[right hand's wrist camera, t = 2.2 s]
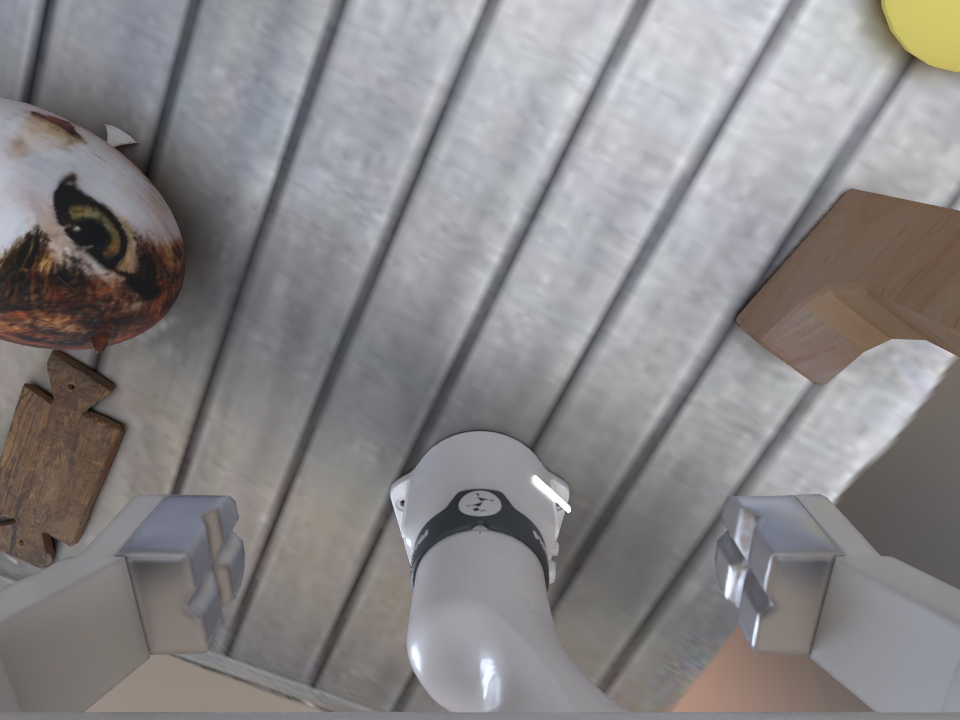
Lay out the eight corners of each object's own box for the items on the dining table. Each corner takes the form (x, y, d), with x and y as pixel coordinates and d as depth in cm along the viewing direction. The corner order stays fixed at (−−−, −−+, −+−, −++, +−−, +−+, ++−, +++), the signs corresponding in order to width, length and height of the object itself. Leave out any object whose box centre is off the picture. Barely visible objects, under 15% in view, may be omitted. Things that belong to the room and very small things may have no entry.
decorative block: (730, 319, 59) (952, 504, 31) (848, 184, 55) (1231, 259, 27) (787, 361, 61) (1048, 572, 33) (906, 233, 56) (1326, 352, 28)
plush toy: (258, 138, 48) (95, 341, 38) (236, 254, 63) (114, 423, 53) (-41, -40, 44) (-319, 139, 33) (11, 131, 58) (-170, 291, 48)
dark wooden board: (145, 388, 62) (45, 341, 60) (136, 395, 61) (33, 347, 59) (68, 572, 70) (-23, 535, 68) (58, 582, 68) (-35, 544, 67)
